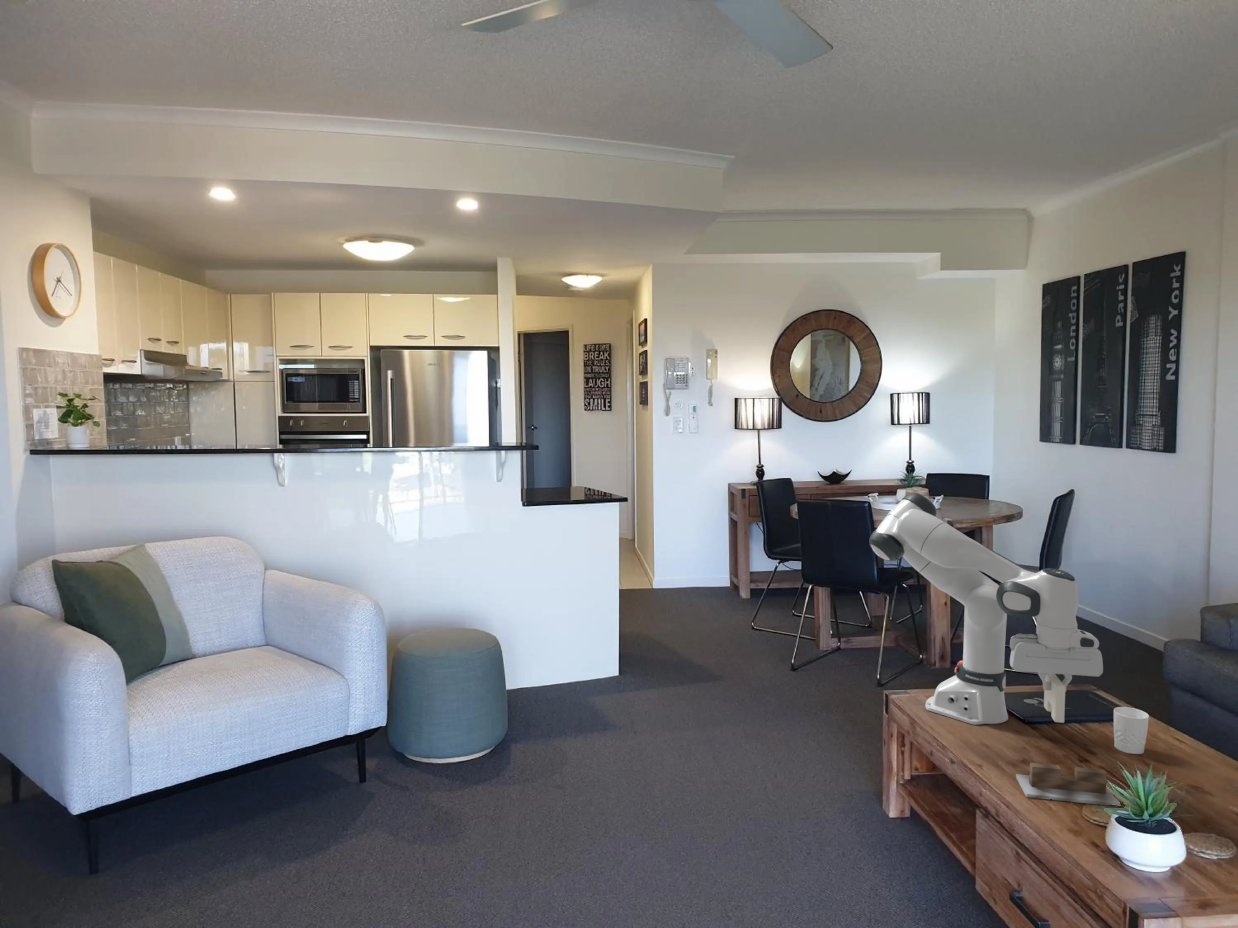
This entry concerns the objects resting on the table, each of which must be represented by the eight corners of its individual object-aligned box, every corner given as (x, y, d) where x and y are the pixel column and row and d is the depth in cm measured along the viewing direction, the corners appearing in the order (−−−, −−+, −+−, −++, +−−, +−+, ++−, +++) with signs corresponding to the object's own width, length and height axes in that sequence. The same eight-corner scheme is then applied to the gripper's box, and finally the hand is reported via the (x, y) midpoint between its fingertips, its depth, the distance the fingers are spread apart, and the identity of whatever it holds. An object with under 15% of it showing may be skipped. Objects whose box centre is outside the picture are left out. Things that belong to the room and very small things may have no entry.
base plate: (1026, 796, 187) (1027, 773, 187) (1015, 776, 197) (1016, 754, 196) (1121, 806, 183) (1122, 782, 182) (1105, 785, 192) (1107, 762, 192)
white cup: (1152, 756, 208) (1154, 719, 207) (1118, 753, 209) (1120, 717, 208) (1139, 743, 215) (1141, 707, 215) (1106, 741, 217) (1108, 705, 216)
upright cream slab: (1064, 722, 192) (1065, 686, 192) (1055, 721, 193) (1056, 685, 192) (1052, 706, 202) (1053, 672, 201) (1043, 706, 203) (1044, 671, 202)
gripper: (1013, 636, 195) (1011, 691, 196) (1106, 641, 190) (1104, 698, 191) (1007, 629, 201) (1005, 682, 203) (1097, 634, 196) (1095, 688, 198)
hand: (1054, 690), depth 197 cm, fingers closed on upright cream slab, 2 cm apart
